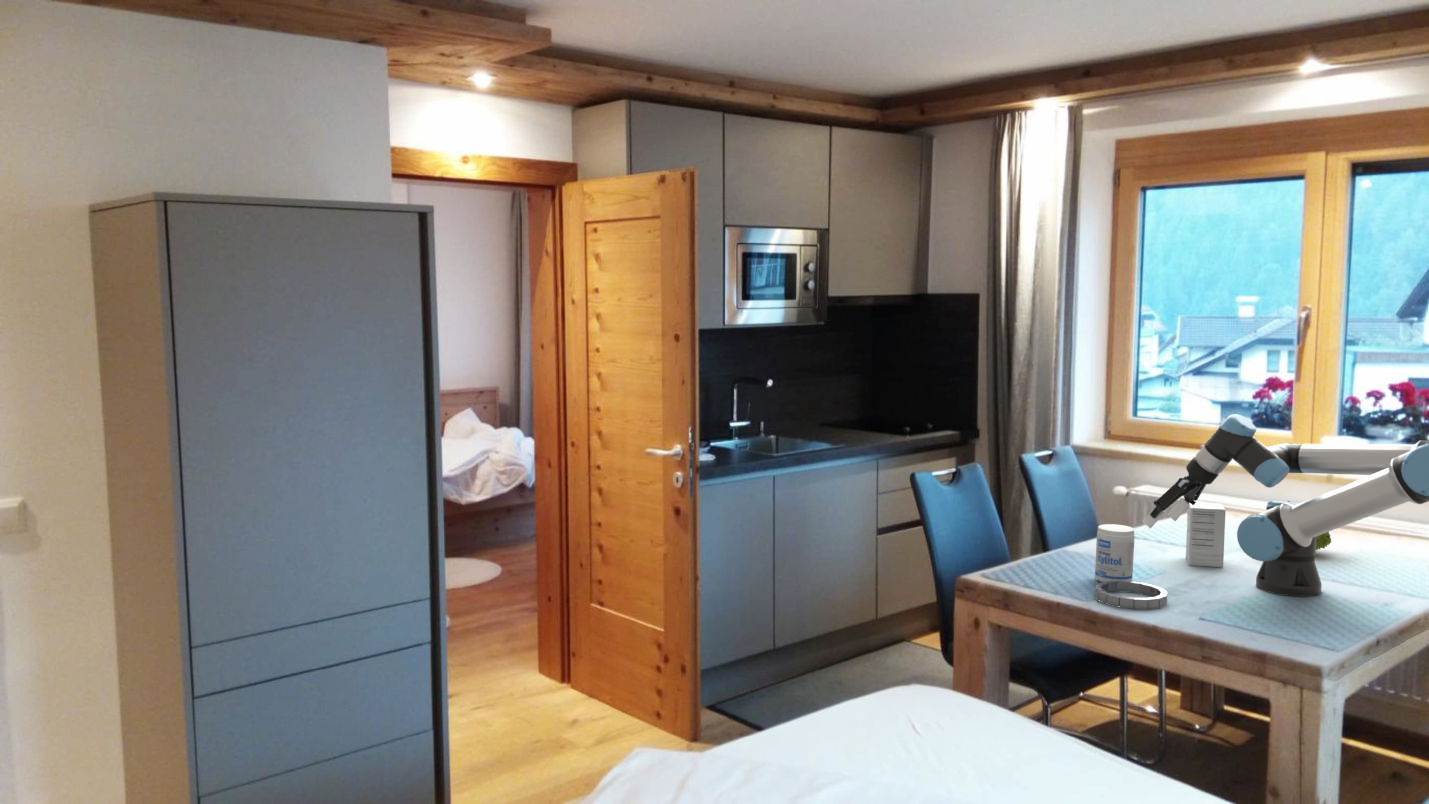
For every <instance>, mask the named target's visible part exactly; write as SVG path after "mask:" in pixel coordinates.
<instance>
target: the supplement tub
mask: <svg viewBox="0 0 1429 804" xmlns="http://www.w3.org/2000/svg"><path fill="white" fill-rule="evenodd" d="M1135 535H1136V534H1135V528H1134V527H1131V526H1128V525H1124V524H1123V525H1122V524H1116V523H1115V524H1113V523H1111V524H1110V523H1109V524H1108V523H1107V524H1100V525H1098V526H1097V532H1096V542H1095V543H1096V544H1095V545H1096V546H1095V547H1096V548H1095V563H1094V567H1095V568H1094V576H1095V579H1096V580H1097V581H1098V582H1100V583H1102V582H1107V581H1133V574H1134V557H1135V555H1134V554H1135V551H1134V550H1135Z"/></svg>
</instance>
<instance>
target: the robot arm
mask: <svg viewBox="0 0 1429 804" xmlns="http://www.w3.org/2000/svg"><path fill="white" fill-rule="evenodd" d="M1256 433H1257V426H1255V424H1253V422H1252V421H1251V420H1250V419H1248V418H1247V417H1245V416H1243V415H1241V414H1236V413H1234V414H1229V415H1228V417H1227V418H1225V420H1224V421H1223V422H1222V423H1221V424H1220V425H1218V428H1217V429H1216V430H1215V431H1214V432H1213V434H1212V435H1211V436H1210V437H1209V438H1208V440H1207V441H1206V442H1205V444H1202V445H1200V446H1199V448H1200V450H1198V452H1197V453H1196V454H1195V456H1193V458H1192V459H1190V461H1189V462H1188V464H1187V465H1186V466H1185V468H1186V471H1187V474H1188V475H1187V476H1184V477H1179V478H1178V480H1177V481H1176V482H1175V483H1174V484H1173V485H1172V486H1171V487H1169V489H1168V490H1166V491H1165V492H1164V493H1163V494H1162V495H1161V496H1160V497H1158V499H1157V500H1154V501H1153V504H1154V507H1153V508H1152V509H1151V511H1149V513H1148V514H1147V515H1146V516H1145V517H1144V519H1143V520H1142V523H1143V524H1144V525H1146V527H1148V529H1152V528H1153V527H1154V525H1155V524H1156V523H1157V522H1158V521H1159V519H1160V518H1161V517H1162V516H1163V514H1165V512H1166V510H1167V509H1168V508H1169V507H1170V506H1171V505H1173V504H1174V503H1175V504H1174V505H1173V506H1172V507H1171V509H1170V510H1169V512H1168V513H1167V514H1166V515H1167V516H1168V517H1169V518H1171V520H1172V521H1174V522H1176V521H1177V520H1178V519H1179V518H1180V517H1181V515H1182V514H1183V513H1184V512H1185V511H1186V509H1188V506H1189V505H1190V504H1189V503H1191V504H1192V505H1194V504H1195V503H1197V502H1196V501H1197V500H1199V498H1200V496H1201V494H1202V493H1203V491H1204V489H1205V487H1206V485H1211V484H1213V482H1214V481H1215V480H1217V478H1218V476H1219V475H1220V473H1222V472H1223V471H1224V470H1225V469H1226V468H1227V466H1228V465H1229V464H1230V463H1231V461H1232V460H1233V461H1234V462H1235V463H1236V464H1238V465H1239V466H1240V467H1242V469H1244V470H1245V471H1246V472H1247V473H1249V475H1251V476H1252V477H1253V478H1254V479H1255V480H1256V481H1257V482H1259V483H1260V484H1262V485H1263V486H1264V487H1266V488H1268V489H1269V488H1273V487H1275V486H1277V485H1278V484H1280V483H1281V482H1282V481H1283V480H1284V479H1285V478H1286V477H1287V476H1288V475H1289V474H1321V475H1322V474H1327V475H1328V474H1330V475H1331V474H1332V475H1333V474H1334V475H1357V476H1360V475H1362V476H1365V475H1366V476H1365V477H1362V478H1360V479H1357V480H1355V481H1352V482H1350V483H1347V484H1345V485H1343V486H1340V487H1337V488H1335V489H1333V490H1329V491H1327V492H1325V493H1322V494H1320V495H1318V496H1315V497H1313V498H1310V499H1307V500H1305V501H1303V502H1301V503H1300V502H1293V501H1290V502H1287V500H1286V501H1285V500H1269V501H1268V502H1267V505H1266V507H1265V510H1264V511H1262V512H1259V513H1256V514H1250V515H1248V516H1247V517H1246V518H1244V519H1243V520H1242V521H1241V522H1240V523H1239V524H1238V527H1237V530H1236V538H1237V542H1238V545H1239V547H1240V549H1241V550H1242V552H1244V553H1245V555H1246V556H1247V557H1250V558H1251V559H1253V560H1255V561H1258V562H1262V563H1261V564H1260V568H1259V570H1258V572H1257V575H1256V577H1255V586H1256V587H1257V588H1258V589H1260V590H1263V591H1265V592H1268V593H1272V594H1277V595H1281V596H1283V595H1284V596H1290V597H1291V596H1292V597H1313V596H1314V597H1315V596H1318V595H1320V594H1322V586H1323V585H1322V581H1321V577H1320V574H1319V571H1318V567H1317V565H1316V552H1317V550H1316V537H1317V536H1318V535H1321V534H1324V533H1326V532H1329V533H1330V532H1331V531H1334V530H1337V529H1340V528H1342V527H1345V526H1348V525H1350V524H1353V523H1355V522H1357V521H1360V520H1363V519H1365V518H1368V517H1371V516H1373V515H1376V514H1379V513H1382V512H1385V511H1387V510H1390V509H1392V508H1394V507H1398V506H1400V505H1403V504H1406V503H1408V502H1410V503H1413V504H1417V505H1423V504H1426V503H1428V502H1429V440H1418V441H1417V442H1416V443H1415V444H1370V443H1369V444H1368V443H1367V444H1360V443H1359V444H1355V443H1353V444H1352V443H1351V444H1349V443H1348V444H1343V443H1342V444H1341V443H1340V444H1339V443H1337V444H1335V443H1334V444H1333V443H1332V444H1329V443H1327V444H1325V443H1322V444H1321V443H1316V444H1315V443H1303V444H1302V443H1295V442H1281V443H1279V444H1274V445H1271V446H1266V445H1264V444H1263V443H1261V442H1260V441H1259V440H1258V439H1257V438H1256V437H1255V434H1256ZM1177 500H1178V501H1177Z"/></svg>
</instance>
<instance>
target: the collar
mask: <svg viewBox="0 0 1429 804" xmlns="http://www.w3.org/2000/svg"><path fill="white" fill-rule="evenodd" d="M1115 591H1129V592H1128V593H1134V592H1136V594H1141V593H1143V594H1142V595H1145V594H1146V596H1150V597H1130V596H1123V595H1118V594H1113V593H1115ZM1108 592H1109V593H1108ZM1168 594H1169V593H1168V591H1167V590H1165V589H1164V588H1162V587H1160V586H1157V585H1154V584H1149V583H1145V582H1141V581H1134V580H1132V581H1107V582H1099V583H1097V584H1096V585H1095V587H1094V598H1095V597H1096V598H1097V599H1098V600H1100V601H1102V602H1104V603H1107V604H1110V605H1109V606H1111V605H1114V606H1113V607H1115V606H1120V607H1126V608H1125V609H1128V608H1131V609H1130V610H1145V609H1148V610H1156V609H1155V608H1157V609H1160V608H1164V607H1166V606H1167V604H1168V596H1169V595H1168ZM1096 598H1095V599H1096ZM1097 599H1096V600H1097ZM1098 600H1097V601H1098ZM1100 601H1099V602H1100ZM1102 602H1101V603H1102ZM1104 603H1103V604H1104ZM1107 604H1106V605H1107ZM1120 607H1119V608H1120Z"/></svg>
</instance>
